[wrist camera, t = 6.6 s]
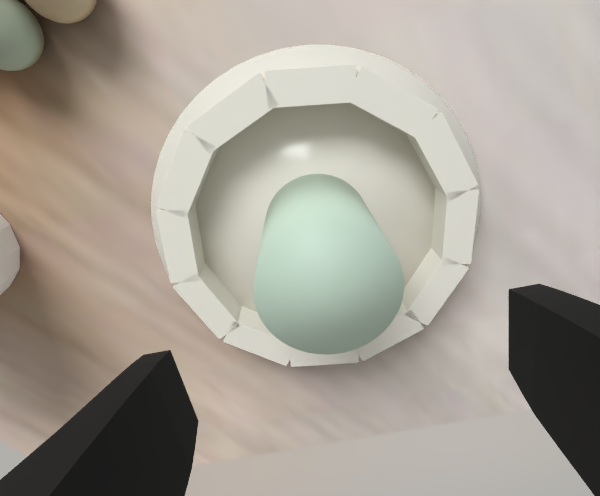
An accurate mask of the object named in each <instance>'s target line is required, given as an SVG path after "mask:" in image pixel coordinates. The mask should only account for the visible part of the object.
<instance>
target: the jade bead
mask: <svg viewBox="0 0 600 496" xmlns="http://www.w3.org/2000/svg"><path fill="white" fill-rule="evenodd" d="M403 294H404V275H403V271H402V267H401V264H400V262H399V259H398V257H397V256H396V254H395V252H394V251H393V249H392V247H391V246H390V244H389V242H388V241H387V239H386V237H385V236H384V234H383V232H382V231H381V229H380V227H379V226H378V224H377V222H376V221H375V219H374V217H373V216H372V214H371V213H370V211H369V209H368V208H367V206H366V204H365V203H364V201H363V199H362V198H361V196H360V194H359V193H358V192H357V191H356V190H355V189H354V188H353V187H352V186H351V185H350V184H348V183H347V182H346V181H344V180H342V179H340V178H338V177H335V176H332V175H327V174H309V175H304V176H301V177H298V178H296V179H294V180H292V181H290V182H288V183H287V184H285V185H284V186H283V187H282V188H281V189H280V190H279V191H278V192H277V193H276V194H275V196H274V197H273V199H272V200H271V202H270V204H269V207H268V210H267V214H266V219H265V224H264V229H263V234H262V239H261V245H260V250H259V255H258V260H257V265H256V270H255V276H254V281H253V299H254V304H255V307H256V311H257V313H258V315H259V317H260V319H261V321H262V322H263V324H264V325H265V327H266V328H267V329H268V330H269V331H270V332H271V333H272V334H273V335H274V336H275V337H276V338H277V339H279V340H280V341H281V342H283V343H285V344H286V345H288V346H290V347H292V348H295V349H297V350H300V351H304V352H307V353H313V354H324V355H328V354H339V353H345V352H348V351H352V350H355V349H357V348H360V347H362V346H364V345H366V344H368V343H370V342H371V341H373V340H374V339H375V338H377V337H378V336H379V335H380V334H382V333H383V332H384V331H385V330H386V329H387V327H388V326H389V325H390V324H391V323H392V321H393V320H394V318H395V317H396V315H397V313H398V311H399V309H400V306H401V303H402V300H403Z"/></svg>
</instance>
